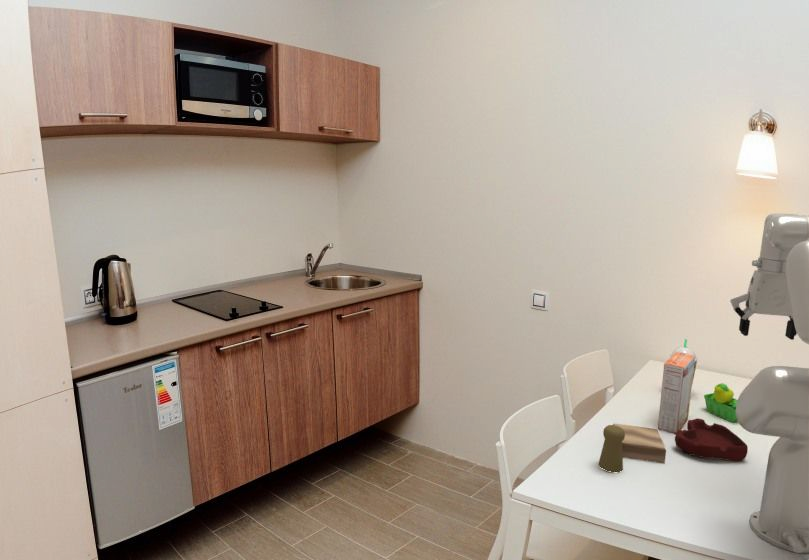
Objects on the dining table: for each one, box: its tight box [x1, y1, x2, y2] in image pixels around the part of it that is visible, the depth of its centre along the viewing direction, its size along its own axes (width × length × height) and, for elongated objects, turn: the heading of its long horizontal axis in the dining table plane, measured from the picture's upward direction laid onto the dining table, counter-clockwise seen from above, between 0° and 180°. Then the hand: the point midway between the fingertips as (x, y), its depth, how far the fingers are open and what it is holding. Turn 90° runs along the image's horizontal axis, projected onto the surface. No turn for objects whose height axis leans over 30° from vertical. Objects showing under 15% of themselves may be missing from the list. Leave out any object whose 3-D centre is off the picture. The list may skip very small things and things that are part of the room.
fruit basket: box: [703, 382, 738, 423], centre depth 171 cm, size 11×9×11 cm
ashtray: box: [674, 418, 749, 462], centre depth 149 cm, size 18×16×5 cm
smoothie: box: [669, 338, 699, 390], centre depth 185 cm, size 8×8×20 cm
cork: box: [598, 424, 625, 473], centre depth 139 cm, size 6×6×11 cm
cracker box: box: [657, 352, 695, 434], centre depth 163 cm, size 14×6×21 cm, turn 141°
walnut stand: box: [612, 423, 667, 464], centre depth 149 cm, size 12×12×4 cm
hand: (766, 336), depth 131 cm, fingers open, 9 cm apart
